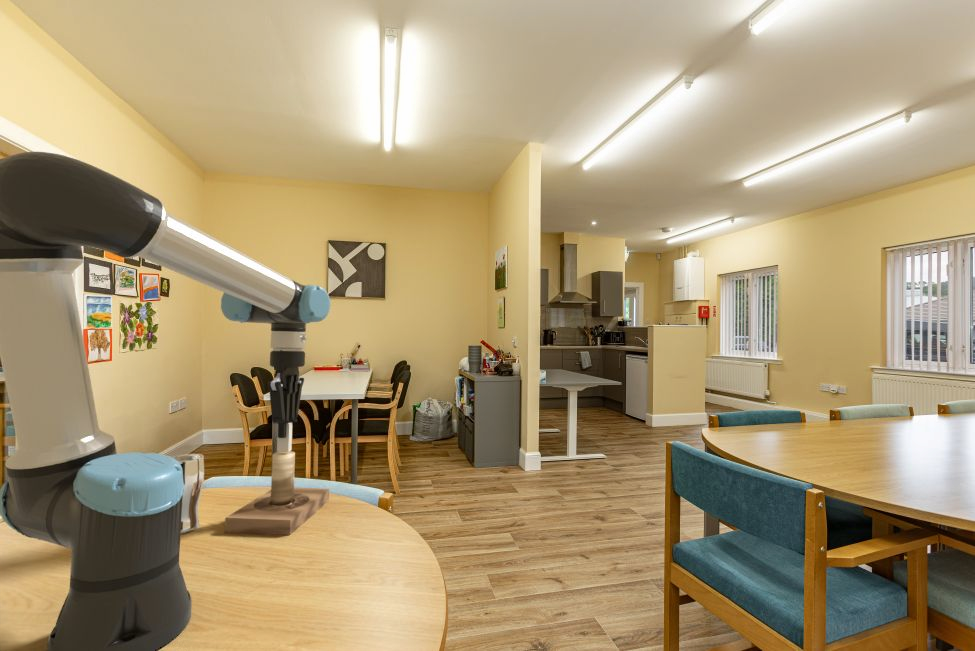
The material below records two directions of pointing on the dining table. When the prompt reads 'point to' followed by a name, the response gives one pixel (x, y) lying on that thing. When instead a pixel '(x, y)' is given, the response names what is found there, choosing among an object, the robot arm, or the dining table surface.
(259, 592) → the dining table surface
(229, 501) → the dining table surface
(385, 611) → the dining table surface
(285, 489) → the peg
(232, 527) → the board
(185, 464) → the metal cup
